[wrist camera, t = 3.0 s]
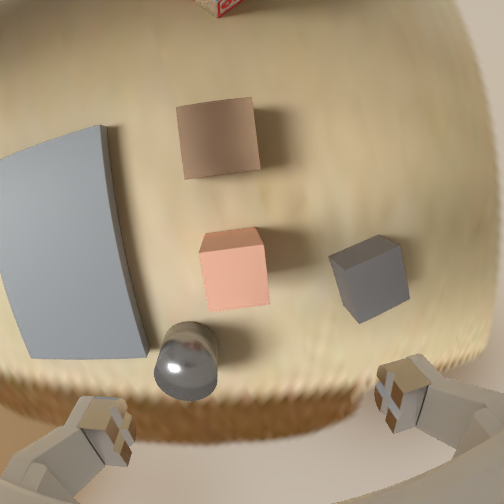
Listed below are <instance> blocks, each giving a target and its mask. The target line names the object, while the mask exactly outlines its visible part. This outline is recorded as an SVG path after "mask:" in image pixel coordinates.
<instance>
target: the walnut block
mask: <svg viewBox="0 0 504 504" xmlns="http://www.w3.org/2000/svg"><path fill="white" fill-rule="evenodd" d="M176 110H177V120H178V129H179V138H180V146H181V154H182V162H183V170H184V178H185V180H187V179H193V178H200V177H207V176H214V175H221V174H229V173H236V172H245V171H253V170H261V169H260V160H259V152H258V144H257V135H256V127H255V119H254V111H253V103H252V97H246V98H236V99H227V100H219V101H212V102H205V103H198V104H191V105H185V106H180V107H176Z"/></svg>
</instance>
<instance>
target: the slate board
mask: <svg viewBox="0 0 504 504" xmlns="http://www.w3.org/2000/svg"><path fill="white" fill-rule="evenodd" d="M0 273H1V277H2V280H3V284H4V287H5V290H6V294H7V297H8V300H9V303H10V306H11V309H12V312H13V314H14V317H15V320H16V323H17V325H18V328H19V330H20V333H21V335H22V338H23V340H24V343H25V345H26V347H27V350H28V352H29V354H30V357H31V358H33V359H74V360H86V359H128V358H147V355H148V352H149V350H150V348H149V344H148V341H147V338H146V334H145V331H144V327H143V324H142V320H141V317H140V313H139V309H138V306H137V302H136V298H135V294H134V290H133V286H132V282H131V277H130V273H129V269H128V264H127V260H126V255H125V250H124V245H123V240H122V235H121V230H120V224H119V219H118V213H117V207H116V201H115V194H114V187H113V180H112V173H111V165H110V156H109V147H108V137H107V127H105V126H102V125H97V126H93V127H90V128H86V129H83V130H80V131H76V132H73V133H70V134H67V135H64V136H61V137H58V138H55V139H52V140H49V141H46V142H43V143H40V144H38V145H35V146H32V147H30V148H27V149H25V150H22V151H20V152H17V153H15V154H12V155H10V156H7V157H5V158H3V159H0Z"/></svg>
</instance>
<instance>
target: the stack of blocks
mask: <svg viewBox="0 0 504 504" xmlns="http://www.w3.org/2000/svg"><path fill="white" fill-rule="evenodd" d="M194 1H195V2H196V3H197V4H199V5H200V6H201V7H203V8H204V9H206V10H207V11H208V12H210V13H211V14H212V15H214V16H215V17H216V18H219V17H220V16H222V15H223V14H224V13H226V12H227V11H229V10H230V9H231V8H233V7H234V6H236V5H237V4H239V3H240V2H241V1H243V0H194Z"/></svg>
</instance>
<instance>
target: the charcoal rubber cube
mask: <svg viewBox="0 0 504 504" xmlns="http://www.w3.org/2000/svg"><path fill="white" fill-rule="evenodd" d="M329 259H330V262H331V266H332V269H333V272H334V275H335V279H336V282H337V285H338V288H339V292H340V295H341V299H342V302H343V305H344V306H345V307H346V309H347V310H348V311H349V312H350V314H351V315H352V316H353V317H354V318H355V320H356V321H357V322H358V323H359V324H361V323H363V322H365V321H367V320H369V319H371V318H373V317H375V316H377V315H379V314H381V313H383V312H385V311H387V310H389V309H391V308H393V307H395V306H397V305H399V304H401V303H403V302H405V301H407V300H409V299H410V296H409V289H408V284H407V278H406V273H405V267H404V262H403V257H402V252H401V248H400V245H398V244H396V243H394V242H392V241H390V240H388V239H386V238H384V237H382V236H380V235H377V236H375V237H372V238H370V239H368V240H365V241H363V242H361V243H358V244H356V245H354V246H351V247H349V248H347V249H344V250H342V251H340V252H337V253H335V254H333V255H330V256H329Z"/></svg>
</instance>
